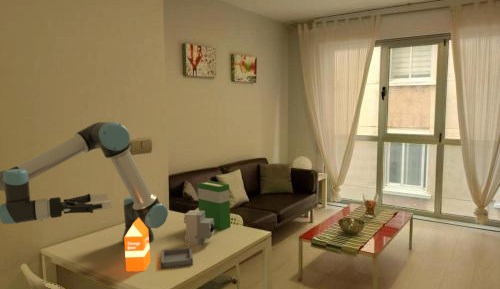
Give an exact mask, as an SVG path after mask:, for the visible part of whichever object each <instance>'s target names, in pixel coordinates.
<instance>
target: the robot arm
mask: <svg viewBox="0 0 500 289" xmlns="http://www.w3.org/2000/svg"><path fill="white" fill-rule="evenodd" d="M130 140H131V137H130V132H129V130H128V128H126V126H125V125H123V124H121V123H118V122H115V121H108V122H107V121H105V122H104V121H99V122H95V123H93V124H90V125H88V126H87V127H84V128H83V129H81V130H79V131H77V132H75V133H74V135H73V137H71V138H69V139H67V140H65V141H63V142H61V143H59V144H57V145H55V146H54V147H51V148H49V149H47V150H45V151H43V152H41V153H39V154H37V155H36V156H33V157H31V158H29V159H27V160H25V161H23V162H21V163H19V164H18V165H15V166H14V167H13V166H12V168H9V169H8V170H1V171H0V191H3V192H4V195H5V203H2V204H0V222H1V224H3V225H10V224H11V225H12V224H20V223H27V222H33V221H34V222H35V221H39V220H40V222H43V221H44V220H46V219H47V220H48V219H50V218H51V219H57V218H60V217H62V216H63V214H64V215H66V214H83V213H86V214H88V213H90V214H93V213H94V211H99V210H106V209H112V200H108V199H109V197H108V196H109V195H108V193H101V194H93V195H91V194H90V193H87V194H85V195H80V196H76V197H72V198H65V199H63V201H62V199H61V197H60V196H59V197H58V196H57V197H56V196H55V197H50V198H49V199H48V198H41V199H40V198H39V199H34V200H33V199H32V200H31V195H30V194H31V193H30V182H29V181H32V180H33V179H35V178H37V177H38V176H41V175H42V174H44V173H47V172H48V171H50V170H52V169H54V168H56V167H57V166H60V165H61V164H63V163H65V162H67V161H69V160H70V159H73V158H75V157H76V156H78V155H80V154H82V153H88V152H90V151H93V150H97V149H100V150H101V151H102V153H103V155H104V158H106V159H108V160H111V162H112V165H113V166H114V167H115V168H114V169H115V170H116V172H117V174H118V175H119V177H120V179H121V181H122V183H123V184H124V187H125V188H126V190H127V192H128V194H129V196H128V197H126V198H124V199H123V206H122V207H123V212H124V213H123V214H124V230H123V231H124V232H123V236H122V239H121V240H122V245H124V246H125V241H124V237H125V236H126V234H127V232H128V231H129V229H130V228H131V226H132V225H133V223H134V222H135V221H136V220H137V219H138V218H140V220H141V221H142V222H143V223H144V225H145V226H146V227H147V228H148V233H149V244H150V243H152V242H153V241H154V240H155V234H154V232H153V229H158V228H161V227H162V226H163V225H164V224H165V223H166V221H167V217H168V216H169V214H168V213H169V212H168V211H169V210H168V208H167V207H166V206H165V205H164V204H163V203H161V202H160V200H159V199H158V197H157V195H156V194H155V193H152V192H151V190H150V188H149V187H148V185H147V183H146V181H145V179H144V177H143V175H142V172H141V171H140V169H139V167H138V165H137V163H136V160H135V159H134V157H133V155H132V153H131V151H130V150H131V147H132V145H131V144H130Z"/></svg>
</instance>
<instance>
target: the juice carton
mask: <svg viewBox="0 0 500 289" xmlns="http://www.w3.org/2000/svg"><path fill="white" fill-rule="evenodd" d="M124 241H125V245H124V252H125V253H124V255H125V256H124V257H125V266H126V272H139V271H141V272H143V271H144V272H145V271H146V269H147V268H148V266H149V264H150V263H151V253H150V252H151V250H150V243H149V233H148V228H147V227H146V226H145V225H144V223H143V222H142V221H141V220H140V218H138V219H137V220H136V221H135V222H134V223H133V225H132V226H131V228H130V229H129V231H128V232H127V234H126V236H125V237H124Z"/></svg>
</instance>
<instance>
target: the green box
mask: <svg viewBox="0 0 500 289" xmlns="http://www.w3.org/2000/svg"><path fill="white" fill-rule="evenodd" d="M197 199H198V200H197V202H198V204H197V205H198V211H205V218H214V226H216V228H215V229H214V230H217V231H220V232H222V231H224V230H227V229H229V228H231V206H230V204H231V203H230V184H229V183H223V182H217V181H212V180H205V182H197Z"/></svg>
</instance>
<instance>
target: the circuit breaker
mask: <svg viewBox="0 0 500 289" xmlns="http://www.w3.org/2000/svg"><path fill="white" fill-rule="evenodd" d="M183 221H184V222H183V223H184V224H185V231H186V234H184V243H185V244H189V245H188V246H200V245H201V246H202V245H203V244H204V243H205V242H206V241H207V239H210V238H212V236H213V235H214V234H215V230H216V229H215V228H216V226H214V218H205V211H199V210H196V209H195V210H189V211H187V212H186V213H184V216H183ZM185 244H184V245H185Z"/></svg>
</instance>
